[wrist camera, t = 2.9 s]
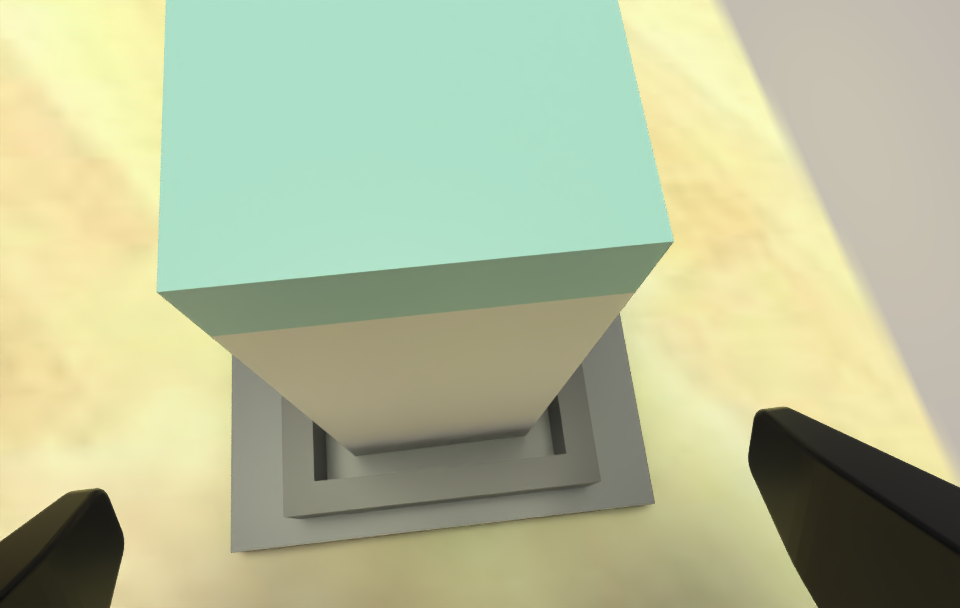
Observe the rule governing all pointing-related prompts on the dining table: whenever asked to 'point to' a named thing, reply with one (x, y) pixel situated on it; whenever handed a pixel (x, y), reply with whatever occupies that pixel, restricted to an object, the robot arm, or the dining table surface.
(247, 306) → the plug
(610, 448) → the board
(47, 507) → the robot arm
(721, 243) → the dining table surface
